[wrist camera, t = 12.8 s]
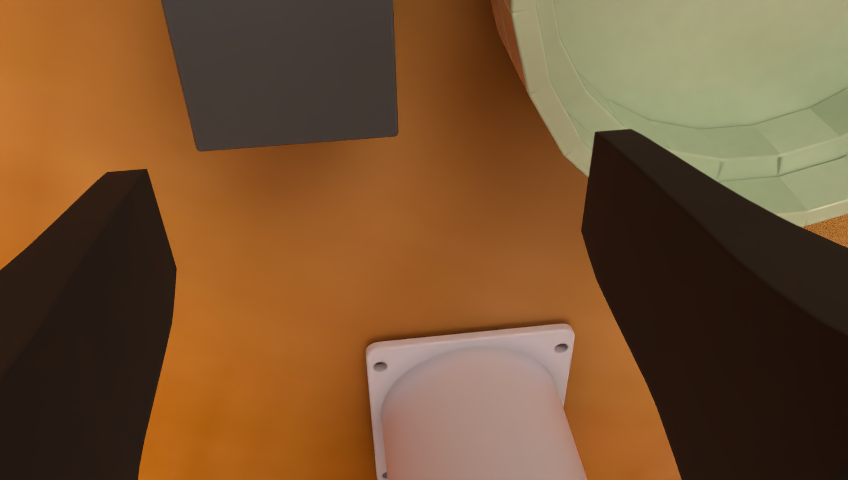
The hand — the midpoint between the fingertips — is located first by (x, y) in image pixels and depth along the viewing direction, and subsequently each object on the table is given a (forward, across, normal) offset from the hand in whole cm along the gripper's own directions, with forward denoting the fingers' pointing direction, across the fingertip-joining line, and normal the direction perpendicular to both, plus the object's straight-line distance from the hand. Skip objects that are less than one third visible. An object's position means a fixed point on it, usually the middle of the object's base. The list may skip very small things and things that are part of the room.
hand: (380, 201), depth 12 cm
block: (+10, +2, -1) cm, 10 cm away
